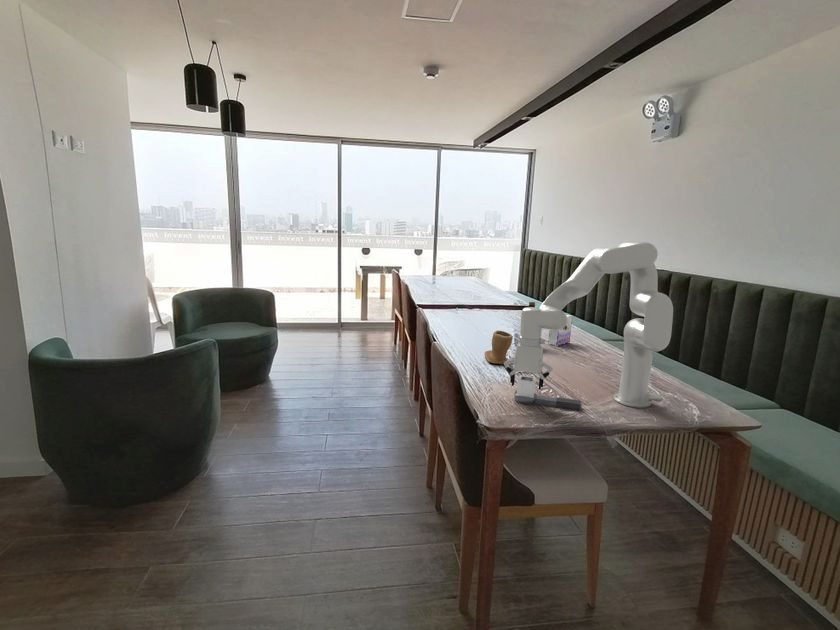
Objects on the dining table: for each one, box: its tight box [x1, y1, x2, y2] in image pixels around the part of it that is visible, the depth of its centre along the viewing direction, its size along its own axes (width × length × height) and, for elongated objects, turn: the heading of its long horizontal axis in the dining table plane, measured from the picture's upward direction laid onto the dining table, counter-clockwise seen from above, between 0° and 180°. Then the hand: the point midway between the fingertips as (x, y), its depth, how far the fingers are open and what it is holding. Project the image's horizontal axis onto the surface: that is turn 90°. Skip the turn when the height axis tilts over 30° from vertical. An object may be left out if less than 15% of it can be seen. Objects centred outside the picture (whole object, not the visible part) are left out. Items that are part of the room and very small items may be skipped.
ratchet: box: [513, 390, 583, 411], centre depth 153 cm, size 24×8×6 cm, turn 71°
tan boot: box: [484, 330, 514, 365], centre depth 204 cm, size 15×12×15 cm
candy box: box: [547, 314, 573, 347], centre depth 242 cm, size 14×6×16 cm, turn 130°
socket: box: [516, 374, 537, 398], centre depth 155 cm, size 6×6×6 cm
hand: (526, 386), depth 155 cm, fingers open, 9 cm apart
